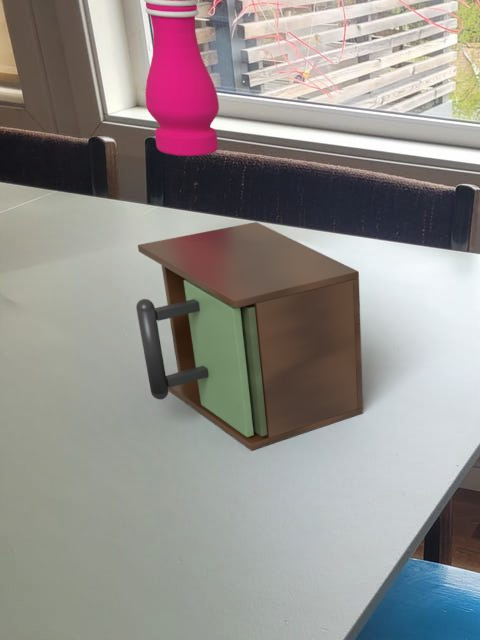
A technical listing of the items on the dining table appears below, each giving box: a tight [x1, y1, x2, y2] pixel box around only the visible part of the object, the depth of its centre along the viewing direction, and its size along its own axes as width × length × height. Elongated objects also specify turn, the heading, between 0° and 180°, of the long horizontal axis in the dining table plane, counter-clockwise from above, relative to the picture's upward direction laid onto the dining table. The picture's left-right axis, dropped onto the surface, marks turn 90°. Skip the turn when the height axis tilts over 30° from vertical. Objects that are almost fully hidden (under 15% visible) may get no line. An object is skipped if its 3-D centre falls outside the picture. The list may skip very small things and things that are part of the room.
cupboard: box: [137, 221, 364, 451], centre depth 89 cm, size 12×16×13 cm
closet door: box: [135, 280, 254, 437], centre depth 83 cm, size 6×8×11 cm
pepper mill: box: [143, 0, 220, 157], centre depth 98 cm, size 7×7×20 cm
